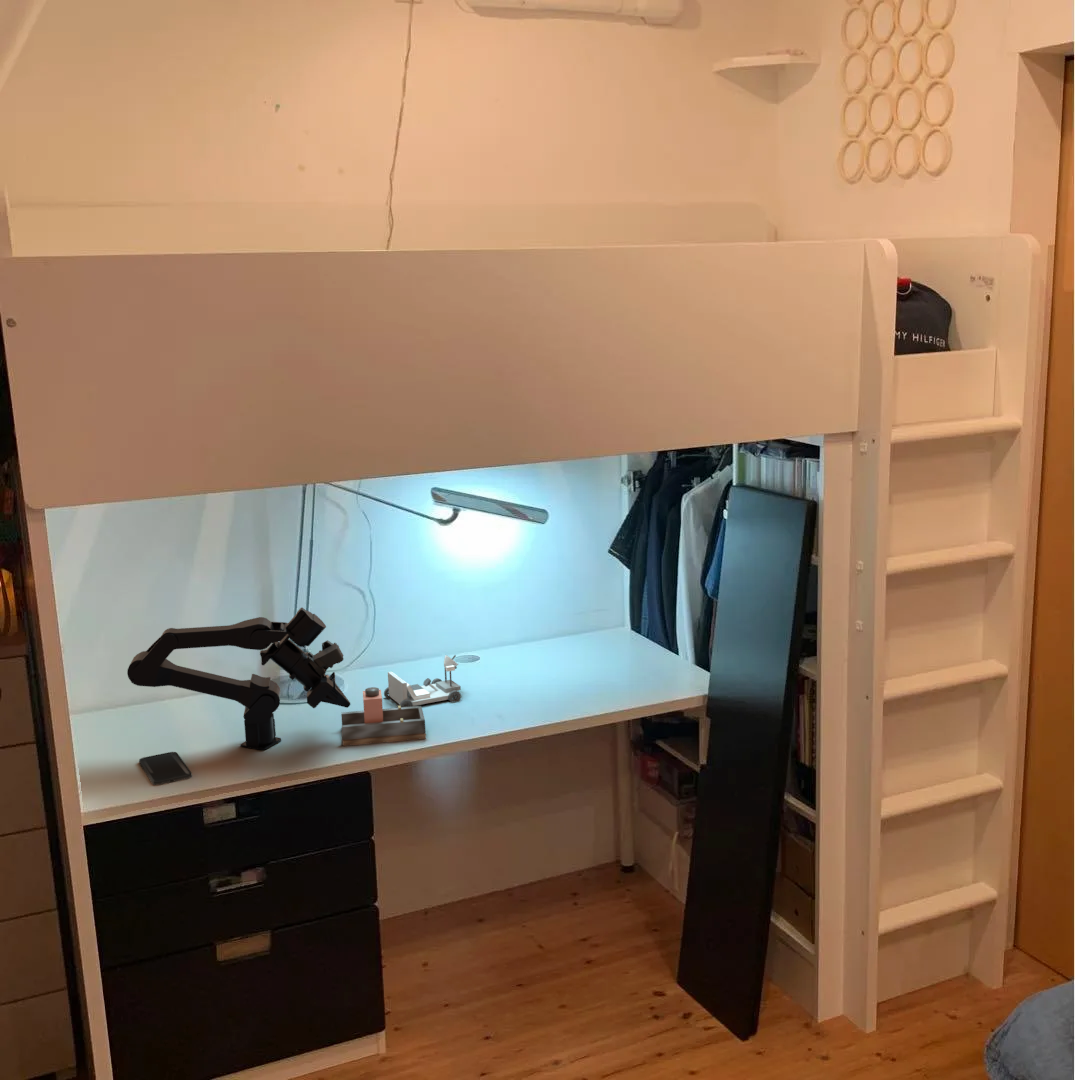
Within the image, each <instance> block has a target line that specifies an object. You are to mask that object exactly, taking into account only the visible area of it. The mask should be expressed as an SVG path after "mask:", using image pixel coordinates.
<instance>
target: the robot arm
mask: <svg viewBox="0 0 1075 1080" xmlns="http://www.w3.org/2000/svg"><path fill="white" fill-rule="evenodd" d="M326 628H327V626H326V624H325V622H324V621H323V620H322V619H321V618H320V617H319V616H317V614H315V613H312V612H310V611H309V610H306V609H305V608H304V607H300V608H299V609H298V610H297V612H296V613H295V615H294V616H293V617H292V618H291V619H290V620H289V621H288V622H284V621H283V622H282V621H271V620H269V619H268V618H267V617H262V616H258V617H253V618H250V619H246V620H242V621H239V622H237V623H235V624H234V623H233V624H230V625H216V626H214V625H213V626H200V627H199V626H198V627H183V628H182V627H181V628H175V627H168V628H167V629H165V630H164V631H163V632H162V634H161V636H159V637H158V638H157V639H156V640H155V641H154V642H153V643H152V644H151V645H150V646H149V648H147V649H146V650H143V651H141V652H139V653H136V655H135V656H133V658H132V660H131V661H130V664H129V665H128V668H127V670H126V671H127V678H128V679H129V681H130V683H132V684H133V685H135V686H137V687H151V688H156V687H157V688H159V687H167V686H170V687H173V688H175V687H176V688H179V689H184V690H188V691H192V692H197V693H200V694H205V695H210V696H214V697H218V698H222V699H225V700H230V701H231V700H232V701H235V702H237V703H238V704H240V705H242V706H243V707H244V711H243V719H244V721H243V722H244V724H243V725H244V738H245V741H243V742H241V743H240V744H239V745H240V747H241V748H247V749H255V750H260V751H264V750H265V751H266V750H267V749H269V748H270V747H272V746H274V745H277V744H278V743H279V742H281V741H282V738H281V737H278V736H277V735H276V732H277V731H276V720H275V715H274V714H275V712H276V710H278V709H279V707H280V702H281V694H282V692H281V691H282V690H281V688H280V685H278V683H277V682H275V681H274V680H271V679H272V677H271V676H268V677H264V676H261V675H258V674H256V673H251V677H250V679H246V680H245V679H243V680H242V679H241V680H240V679H236V678H232V677H229V676H228V677H227V676H223V675H218V674H215V673H210V672H206V671H202V670H198V669H194V668H189V667H185V666H181V665H177V664H175V663H173V662H171V661H170V660H169V659H167V658H168V657H169V656H170V654H172V653H173V651H174V650H183V649H198V648H214V647H228V646H229V647H235V648H236V647H237V648H241V649H243V650H244V649H245V650H255V651H256V650H257V651H260V652H259V655H260V660H261V666H265V665H266V664H267V663H268V662H269V661H272V662H273V663H275V664H276V665H277V666H278V667H279V668H281V669H282V670H283V671H284V672H286V673H287V674H288V675H289V679H291V680H292V681H294V680H295V681H296V682H298V683H299V684H301V685H302V686H303V690H304V691H306V704H308V705H309V706H310V707H311V708H313V709H316V708H317V707H318V706H319V705H320V703H325V704H330V705H335V706H338V707H342V708H346V709H347V708H349V707H350V706H351V702H350V700H349V699H348V697H346V695H345V694H344V692H343V691H342V690H341V688H340V687H339V686H338V684H337V682H336V673H335V671H334V672H332V673H331V674H330V675H329V674H326V673H327V670H328V669H329V668H330V669H332V668H333V667H334V665H336V664H340V663H342V662H343V661H344V659H345V658H344V654H343V652H342V650H341V649H340V646H339V644H337V643H336V642H332V641H329V640H325V641H324V642H322V643H321V650H319V651H318V652H317V653H315V654H313V653H312V652H310V651H309V652H308V651H307V652H305V651H303V649H302V648H305V647H309V646H310V645H311V644H312V643H313V642H314V641H315V640H316V639H317V638H318V637H319V636H320V635H321V634H322V632H324V631H325V629H326Z"/></svg>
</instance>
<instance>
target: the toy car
mask: <svg viewBox="0 0 1075 1080" xmlns="http://www.w3.org/2000/svg"><path fill="white" fill-rule="evenodd" d="M456 656H457V655H456V654H454V655H453V657H450V656H448V655H447V654H445V656H444V660H443V667H444V680H442V679H441V678H434V679H433V680H432V679H430V678H425V680H424V681H423V683H422V685H420V684H418V683H417V684H412V685H411V684H409V683H408V682H406V681H405V680H404V679H403V678H401V677H400V676H399V675H397V674H396V673H394V672H393V671H388V672H387V684H388V685H387V686H388V687H386V688H385V689H384V690H383V695H384V697H385V698H386V699H392V700H393V701H395V703H397V704H398V705H399V706H401V708H402V707H414V706H422V705H425V704H431V703H432V704H433V703H435V702H441V701H447V700H448V701H449V702H450V703H454V702H459V701H460V700H461V697H462V696H461V693H460V691H462V689H461V688H462V687H461V685H460V684H458V683H457V682H455V681H454V680H453V679H452V672H453V671H456V669H457V666H459V663H457V662H456V661H455V660H454V659H455V658H456ZM447 672H449V679H448V678H447V676H448V675H447Z"/></svg>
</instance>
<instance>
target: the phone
mask: <svg viewBox="0 0 1075 1080" xmlns="http://www.w3.org/2000/svg"><path fill="white" fill-rule="evenodd" d="M138 762H139V766H140V767H141V769H142V770H143V772H144V773H145V775H146V776H147V777H148V779H149V781H150V783H151V784H152V785H153V786H161V785H166V784H170V783H175V782H180V781H184V780H188V779H191V778H192V776H193V775H192V772H191V770H190V769H189V767H188V766H187V764H186V763H185V762H184V760H182V758H181V757H180V755H179V754H178V752H176V751H169V752H168V751H167V752H164V753H159V754H153V755H149V756H144V757H141V758H139V760H138Z"/></svg>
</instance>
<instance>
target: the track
mask: <svg viewBox="0 0 1075 1080" xmlns="http://www.w3.org/2000/svg"><path fill="white" fill-rule="evenodd" d="M340 714H341V715H340V716H341V733H342V736H341V737H342V746H344V747H345V746H346V747H347V746H355V745H357V746H359V745H368V744H369V745H370V744H379V743H380V744H381V743H390V742H393V743H394V742H401V741H414V740H426V739H427V734H426V720H425V715H424V711H423V707H422V705H416V706H413V707H402V708H401V706H400V705H397V707H391V708H383V722H375V723H365V722H364V710H354V711H341V713H340Z"/></svg>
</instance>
